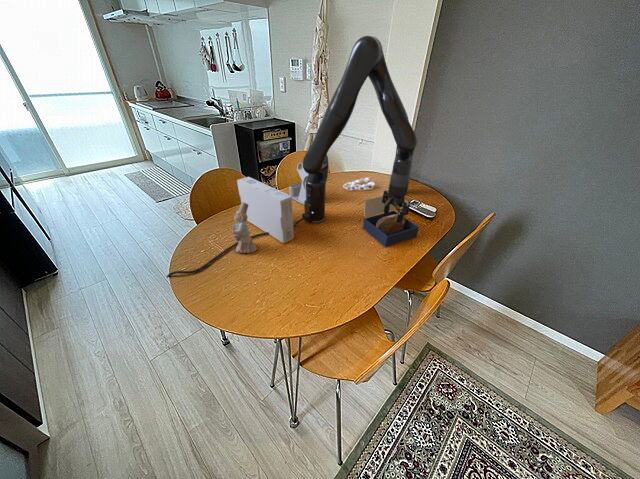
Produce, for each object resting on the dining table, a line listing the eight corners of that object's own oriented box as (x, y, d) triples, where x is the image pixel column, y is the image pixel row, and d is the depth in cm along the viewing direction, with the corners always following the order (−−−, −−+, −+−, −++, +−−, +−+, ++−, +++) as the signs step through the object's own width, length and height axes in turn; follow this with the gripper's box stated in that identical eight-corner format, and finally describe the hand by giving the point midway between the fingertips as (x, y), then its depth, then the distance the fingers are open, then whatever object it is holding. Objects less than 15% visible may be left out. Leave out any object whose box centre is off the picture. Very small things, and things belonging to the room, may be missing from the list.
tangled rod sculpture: (348, 195, 152) (349, 189, 150) (340, 184, 163) (340, 178, 160) (378, 191, 157) (379, 185, 154) (367, 180, 167) (368, 175, 165)
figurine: (256, 241, 110) (250, 199, 99) (257, 253, 104) (250, 209, 92) (235, 244, 109) (226, 201, 97) (234, 256, 102) (224, 212, 91)
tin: (377, 237, 114) (380, 220, 110) (373, 233, 117) (375, 217, 112) (404, 230, 119) (408, 214, 115) (400, 227, 122) (403, 211, 117)
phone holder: (287, 196, 148) (285, 165, 138) (301, 191, 154) (300, 161, 144) (306, 206, 138) (306, 174, 128) (320, 201, 144) (321, 169, 133)
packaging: (294, 237, 113) (292, 196, 102) (283, 243, 110) (280, 201, 98) (253, 214, 130) (248, 176, 119) (243, 218, 127) (236, 179, 115)
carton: (385, 247, 109) (387, 236, 106) (362, 228, 121) (364, 218, 118) (416, 236, 116) (419, 226, 113) (392, 220, 128) (394, 210, 125)
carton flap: (364, 200, 114) (364, 199, 114) (364, 217, 117) (364, 217, 118) (395, 193, 121) (395, 192, 121) (394, 209, 124) (393, 209, 124)
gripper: (380, 178, 108) (375, 212, 117) (404, 190, 98) (396, 227, 107) (394, 175, 111) (388, 209, 120) (418, 187, 101) (410, 223, 110)
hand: (392, 217), depth 114 cm, fingers open, 8 cm apart
